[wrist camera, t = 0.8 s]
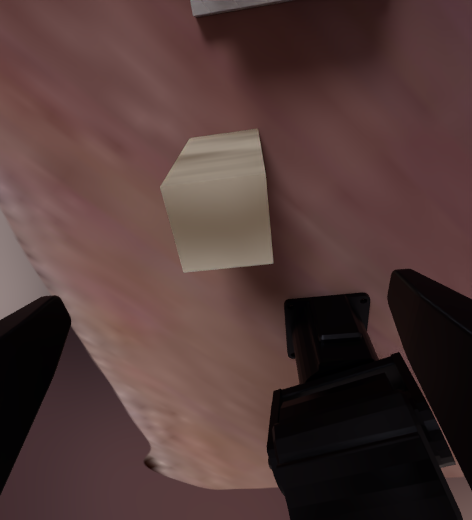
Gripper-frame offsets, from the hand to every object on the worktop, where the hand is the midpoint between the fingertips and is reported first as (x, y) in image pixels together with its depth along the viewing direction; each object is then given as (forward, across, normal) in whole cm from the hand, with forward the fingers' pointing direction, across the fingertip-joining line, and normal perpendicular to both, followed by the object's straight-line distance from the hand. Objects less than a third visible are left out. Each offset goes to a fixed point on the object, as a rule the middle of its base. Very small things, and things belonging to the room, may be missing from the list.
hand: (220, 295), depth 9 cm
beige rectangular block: (+13, 0, 0) cm, 13 cm away
